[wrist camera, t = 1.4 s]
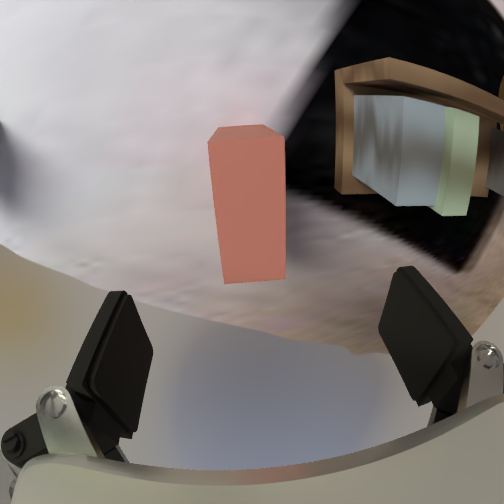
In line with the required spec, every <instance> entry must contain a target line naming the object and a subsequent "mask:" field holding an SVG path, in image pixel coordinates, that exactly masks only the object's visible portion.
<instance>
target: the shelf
mask: <svg viewBox="0 0 504 504" xmlns="http://www.w3.org/2000/svg"><path fill="white" fill-rule="evenodd" d="M335 92H336V161H335V187H334V188H335V189H336V190H337V191H338V192H339V193H341V194H380V195H382V196H383V197H384V198H386V199H387V200H388V201H390V202H391V203H392V204H394V205H395V206H429V207H430V208H431V209H433V210H434V211H436V212H437V213H439V214H440V215H441V216H466V214H467V210H468V205H469V200H470V196H477V197H488V192H489V189H491V190H493V191H495V192H496V193H498V194H500V195H502V196H503V197H504V131H501V130H498V129H496V126H497V122H498V123H502V124H504V100H502V99H500V98H498V97H496V96H494V95H492V94H490V93H488V92H486V91H484V90H482V89H480V88H478V87H475V86H473V85H471V84H469V83H466V82H464V81H462V80H459V79H457V78H454V77H452V76H449V75H446V74H444V73H441V72H438V71H435V70H432V69H429V68H426V67H423V66H420V65H416V64H413V63H409V62H406V61H402V60H398V59H394V58H390V57H388V58H383V59H378V60H374V61H369V62H365V63H361V64H357V65H353V66H349V67H345V68H342V69H338V70H335Z"/></svg>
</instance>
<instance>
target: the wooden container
mask: <svg viewBox="0 0 504 504" xmlns="http://www.w3.org/2000/svg"><path fill="white" fill-rule="evenodd" d="M498 98H500V99H502V100H504V76H503V78H502V81H501V84H500V89H499V97H498ZM500 128H501V131H504V124H502V123H500Z"/></svg>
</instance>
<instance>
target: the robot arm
mask: <svg viewBox="0 0 504 504" xmlns="http://www.w3.org/2000/svg"><path fill="white" fill-rule="evenodd" d="M378 329H379V333H380V336H381V337H382V339H383V341H384V343H385V345H386V347H387V349H388V351H389V353H390V355H391V357H392V359H393V361H394V363H395V365H396V367H397V369H398V371H399V373H400V375H401V377H402V379H403V381H404V383H405V385H406V387H407V390H408V392H409V394H410V396H411V398H412V399H413V400H414V401H416V402H417V404H418V406H421V405H424V404H426V403H429V402H430V401H432V403H433V408H432V412H431V416H430V419H429V423H428V426H427V427H426V428H424V429H421V430H419V431H416V432H414V433H411V434H409V435H406V436H404V437H401V438H398V439H396V440H393V441H390V442H387V443H384V444H381V445H378V446H375V447H371V448H368V449H365V450H361V451H358V452H354V453H350V454H346V455H342V456H338V457H333V458H329V459H324V460H319V461H314V462H309V463H302V464H296V465H289V466H281V467H271V468H261V469H246V470H190V469H175V468H164V467H155V466H146V465H139V464H133V463H129V461H128V459H127V458H126V456H125V455H124V453H123V451H122V450H121V448H120V447H119V445H118V444H119V438H120V437H122V438H128V439H132V435H133V432H136V431H137V428H138V424H139V418H140V413H141V407H142V402H143V397H144V393H145V388H146V383H147V379H148V374H149V370H150V366H151V361H152V357H153V348H152V345H151V343H150V340H149V338H148V336H147V333H146V331H145V329H144V326H143V324H142V321H141V319H140V316H139V314H138V311H137V309H136V306H135V304H134V301H133V298H132V296H131V295H128V294H127V292H126V291H110V292H109V293H108V295H107V297H106V298H105V300H104V302H103V304H102V306H101V308H100V310H99V312H98V314H97V316H96V318H95V320H94V322H93V324H92V326H91V328H90V330H89V332H88V334H87V336H86V338H85V340H84V342H83V344H82V347H81V349H80V351H79V353H78V356H77V358H76V360H75V362H74V365H73V367H72V369H71V372H70V374H69V377H68V379H67V381H66V383H67V385H66V388H64V387H61V386H52V387H49V388H47V389H46V390H44V391H43V392H42V393H41V395H40V396H39V398H38V400H37V403H36V413H35V414H34V415H32V416H30V417H29V418H27V419H25V420H23V421H22V422H20V423H18V424H17V425H15V426H14V427H12V428H10V429H9V430H7V431H6V432H5V434H4V435H3V438H2V441H1V449H2V451H1V450H0V504H504V363H503V357H502V354H501V352H500V350H499V349H498V348H497V347H496V346H495V345H494V344H492V343H490V342H488V341H479V342H477V343H476V344H475V345H474V346H473V347H472V345H471V342H472V341H473V338H472V336H471V335H470V334H469V332H468V331H467V330H466V328H465V327H464V326H463V324H462V323H461V322H460V320H459V319H458V318H457V317H456V315H455V314H454V313H453V312H452V310H451V309H450V308H449V307H448V305H447V304H446V303H445V302H444V300H443V299H442V298H441V297H440V296H439V294H438V293H437V292H436V291H435V290H434V288H433V287H432V286H431V285H430V284H429V283H428V282H427V280H426V279H425V278H424V277H423V276H422V275H421V274H420V273H419V271H418V270H417V269H416V268H415V267H414V266H405V267H399V268H398V269H397V271H396V272H395V273H394V274H393V277H392V281H391V285H390V289H389V292H388V296H387V299H386V303H385V306H384V310H383V313H382V316H381V319H380V322H379V327H378Z"/></svg>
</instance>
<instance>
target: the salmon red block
mask: <svg viewBox="0 0 504 504" xmlns="http://www.w3.org/2000/svg"><path fill="white" fill-rule="evenodd" d="M208 151H209V161H210V171H211V180H212V190H213V199H214V207H215V216H216V224H217V232H218V240H219V248H220V256H221V263H222V270H223V278H224V284H231V283H243V282H255V281H267V280H278V279H285V272H286V185H285V140H284V137H283V136H282V135H280V134H278V133H277V132H275V131H273V130H271V129H270V128H268V127H266V126H264V125H244V126H231V127H220V128H218V129H217V130H216V132H215V133H214V134H213V136H212V137H211V138H210V140H209V141H208Z"/></svg>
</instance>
